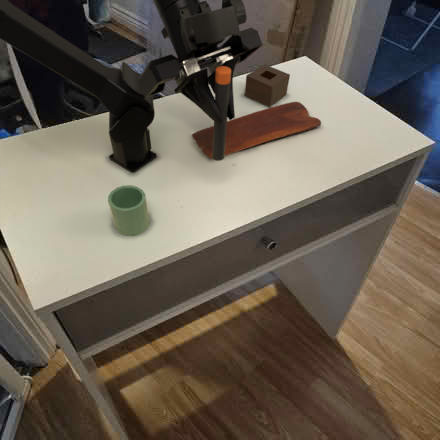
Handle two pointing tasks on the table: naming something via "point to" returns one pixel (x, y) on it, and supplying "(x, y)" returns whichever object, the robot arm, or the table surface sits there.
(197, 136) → the wooden tablet
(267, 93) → the pen stand
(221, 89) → the stylus
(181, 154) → the table surface
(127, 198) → the pen cup
